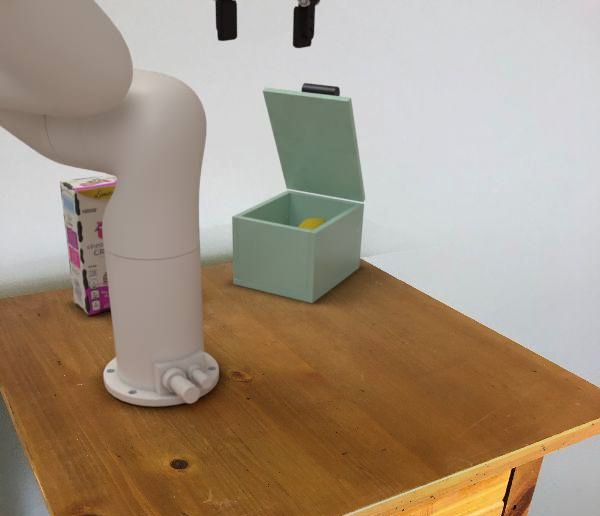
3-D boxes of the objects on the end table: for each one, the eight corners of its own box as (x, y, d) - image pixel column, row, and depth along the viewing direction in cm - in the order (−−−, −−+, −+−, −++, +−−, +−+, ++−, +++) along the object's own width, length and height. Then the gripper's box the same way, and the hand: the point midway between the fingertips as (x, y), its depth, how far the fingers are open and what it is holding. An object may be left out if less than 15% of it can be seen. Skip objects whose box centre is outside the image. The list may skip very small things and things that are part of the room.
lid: (348, 101, 96) (364, 77, 98) (262, 90, 101) (279, 68, 103) (363, 202, 109) (377, 179, 111) (286, 188, 114) (301, 167, 116)
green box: (312, 303, 102) (315, 233, 97) (233, 284, 107) (231, 216, 102) (359, 267, 114) (364, 203, 109) (286, 252, 119) (287, 190, 114)
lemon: (285, 267, 113) (309, 225, 115) (318, 278, 112) (341, 235, 114) (278, 246, 108) (303, 203, 110) (312, 257, 106) (336, 213, 109)
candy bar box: (89, 317, 96) (73, 190, 88) (73, 304, 100) (56, 180, 91) (166, 298, 102) (158, 177, 94) (149, 286, 106) (139, 168, 97)
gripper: (172, -148, 76) (180, 40, 84) (325, -151, 69) (317, 53, 78) (213, -140, 81) (217, 35, 90) (359, -142, 75) (348, 47, 83)
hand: (264, 43), depth 84 cm, fingers open, 9 cm apart
